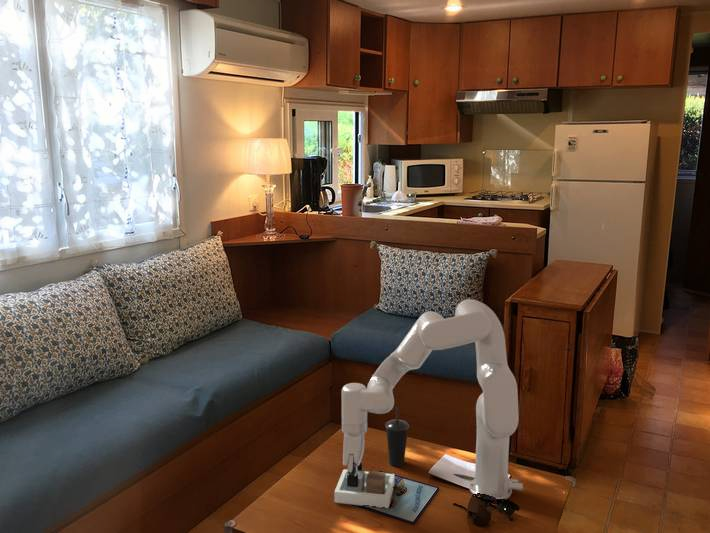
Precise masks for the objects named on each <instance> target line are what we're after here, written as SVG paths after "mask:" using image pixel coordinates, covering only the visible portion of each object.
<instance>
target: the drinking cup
mask: <svg viewBox="0 0 710 533" xmlns="http://www.w3.org/2000/svg"><path fill="white" fill-rule="evenodd" d="M395 408H396V409H395V415H396V416H395V419H390V420H388V421H386V422H385V424H384V426H385V428H386V429H385V431H386V442H387V454H388V463H389V465H390V466H391V467H394V468H395V467H396V468H400V467H402V466H404V464H405V456H406V449H407V439H408V433H409V432H408V431H409V428H410V424H409V423H408V422H407V421H406V420H403V419H399V405H396V406H395Z"/></svg>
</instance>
